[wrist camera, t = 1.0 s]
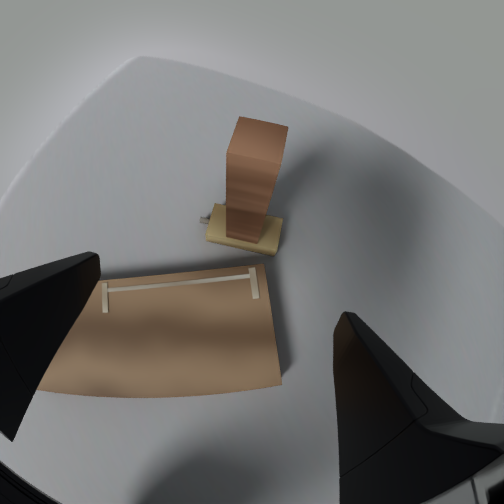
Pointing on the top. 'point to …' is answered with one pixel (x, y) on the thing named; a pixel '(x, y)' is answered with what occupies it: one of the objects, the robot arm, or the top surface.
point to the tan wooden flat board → (170, 337)
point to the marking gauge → (249, 189)
